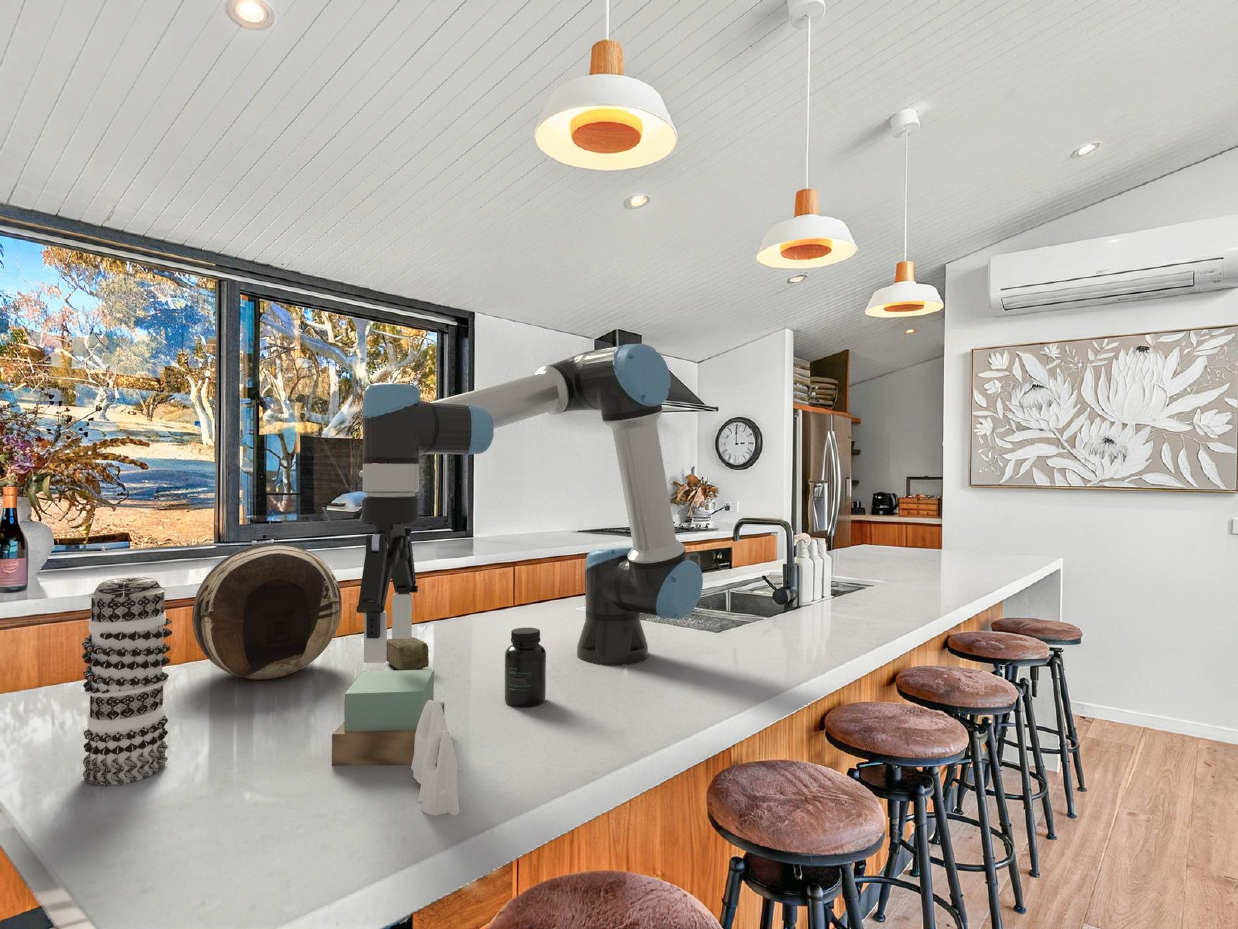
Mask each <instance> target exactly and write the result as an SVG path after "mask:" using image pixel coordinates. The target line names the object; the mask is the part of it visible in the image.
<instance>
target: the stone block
mask: <svg viewBox="0 0 1238 929" xmlns="http://www.w3.org/2000/svg"><path fill="white" fill-rule="evenodd" d="M386 663H388V664H390V666H393V667H394V668H396V669H397V670H399V671H400V670H421V669H423V668H428V667H429V664H430V660H429V646H428V643H427V642H424V641H423V640H420V639H418V638H416V637H415V636H414V637H413V636H412V637H411V638H410V639H392V638H387V661H386Z"/></svg>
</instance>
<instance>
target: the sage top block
mask: <svg viewBox="0 0 1238 929" xmlns="http://www.w3.org/2000/svg"><path fill="white" fill-rule="evenodd" d="M434 674H435V670H434V669H412V670H400V669H399V670H372V671H371V670H370V671H368V670H367V671H362V673H360V675H359V676H358V677H357V678H356V679H355V681H354V682H353V683H352V684H351V685H350V687H349V688H348V689H347V690H346V691H345V693H344V702H343V703H344V710H343V711H344V716H343V717H344V718H343V720H344V721H343V722H344V732H357V731H382V730H407V729H417V726H418V722H419V719H420V716H421V714H422V711H423V709H424V706H425V704H426V703H427V701H428V700H433V701H434V700H435V699H434V697H435V696H434V695H435V694H434V691H435V688H434V685H435V684H434V683H435V682H434V681H435V675H434ZM434 702H435V701H434Z"/></svg>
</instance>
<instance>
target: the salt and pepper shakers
mask: <svg viewBox="0 0 1238 929" xmlns="http://www.w3.org/2000/svg"><path fill="white" fill-rule="evenodd" d="M440 702H441V701H439V700H435V701H433V700H428V701H427V703H426V704H425V706H424V709H423V711H422V714H421V716H420V719H419V722H418V726H417V729H416V734H415V745H414V756H413V761H412V765H410V768H411V770H412V771H413V775H412V777H413V778H414V780H416V782H417V783H418V784H420V788H419V794H418V799H417V802H418V803H420V811H421V812H424V813H426V814H428V815H431V816H435V817H436V816H440V815H444V814H450V815H452V816H457V815H459V814H460V804H459V796H458V787H459V786H458V784H459V783H458V782H459V778H458V777H459V769H458V768H459V767H458V760H457V755H456V750H455V747H454V742H453V740H452V737H451V736H452V735H451V733H450V732H449V730H448V726H447V722H446V718H445V712H444V713H443V709H442V706H441V704H440Z"/></svg>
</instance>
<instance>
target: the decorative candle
mask: <svg viewBox="0 0 1238 929" xmlns="http://www.w3.org/2000/svg"><path fill="white" fill-rule="evenodd" d="M165 591H167V588H166V587H162V586H161V585H160V584H159V582H158V580H157V579H154V578H153V577H148V576H147V577H146V576H133V577H132V576H131V577H120V578H119V577H118V578H112V579H108V580H105V581H104V580H103V581H101V583H99V584H98V585H97V587H96V589H95V590H94V591H93V592H91V593H89V594H87V597H89V598H90V600H91V604H90V612H91V613H90V618H89V619H88V631H89V633H90V635H88V636H86V637H85V638H84V640H83V641H82V643H81V646H82V647H83V649H84V651H85V652H84V653H82V655H81V658H82V659H83V661H82V662H83V663H84V664H87V666H86V668H85V670H83V673H82V674H83V677H84V680H86V681H85V682H84V683H83V684H82V687H83V688H84V693H85V694H86V695H87V696H89V714H87V729H86V730H84V731H83V736H84V739H85V740H88V741H87V742H85V743H84V744H83V748H84V752H86V753H88V754H87V755H86V756H85V757H84V758H83V760H82V764H83V767H84V769H85V770H84V771H83V772H82V776H83V780H84V781H85V782H86V783H88V784H93V785H95V786H96V785H98V786H101V785H100V784H104V785H103V786H105V785H106V787H109V786H108V785H110V786H112V785H111V784H115V785H118V784H121V785H123V783H124V784H126V783H125V782H128V783H134V781H135V782H136V780H137V781H139V780H142V778H143V779H147V778H148V777H150V776H152V775H155V774H157V772H158V771H161V769H162V768H163V767H164V766H165V765H166V762H168V756H166V750H168V748H169V745H168V744H167V742H166V740H164V739H166V736H167V735H168V734H169V731H168V730H166V728H165V726H166V724H167V723H168V722H169V719H168V718H167V717H166V715H165V714H166V712H165V711H166V710H165V709H166V706H165V702H164V686H165V684H166V683H167V682H168V681H169V680H168V679H169V676H170V675H169V674H168V673H166V672H164V671H163V667H165V666H166V665H167V664H169V663H171V659H170V658H169V657H167V656H165V654H166V653H168V652H169V651H170V650H171V646H170V645H168V644H166V642H164V639H167V638H168V637H170V636H171V635H173V631H172V630H171V629H169V628H167V626H168V625H170V624H171V623H172V622H173V621H172V619H169V618H167V612H166V611H165V598H166V597H165V596H166V594H165ZM163 642H164V643H163ZM130 781H131V782H130Z"/></svg>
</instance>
